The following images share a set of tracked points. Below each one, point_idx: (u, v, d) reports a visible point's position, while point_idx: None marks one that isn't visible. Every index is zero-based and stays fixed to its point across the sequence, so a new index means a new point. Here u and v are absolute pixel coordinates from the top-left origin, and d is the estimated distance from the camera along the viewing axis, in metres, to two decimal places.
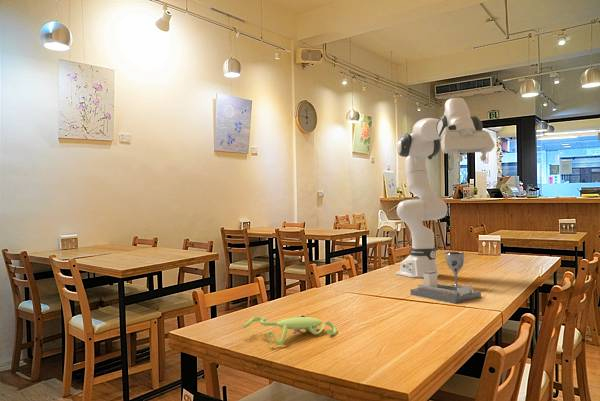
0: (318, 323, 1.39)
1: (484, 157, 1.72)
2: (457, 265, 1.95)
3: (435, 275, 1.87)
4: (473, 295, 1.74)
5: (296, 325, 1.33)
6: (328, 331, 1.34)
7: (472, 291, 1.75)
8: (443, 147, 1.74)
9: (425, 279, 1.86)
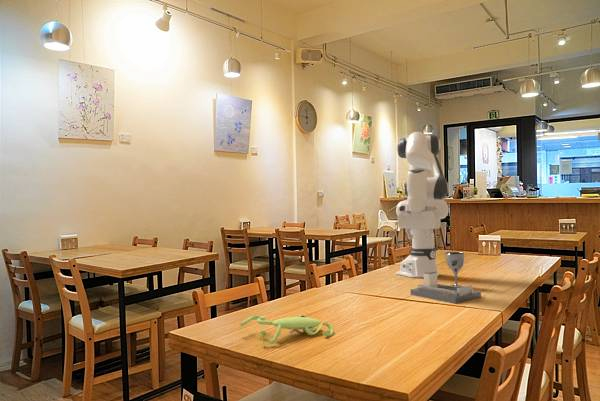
0: (315, 323, 1.39)
1: (426, 238, 1.87)
2: (457, 265, 1.95)
3: (435, 275, 1.87)
4: (473, 295, 1.74)
5: (291, 325, 1.33)
6: (323, 332, 1.33)
7: (472, 291, 1.75)
8: None
9: (425, 279, 1.86)
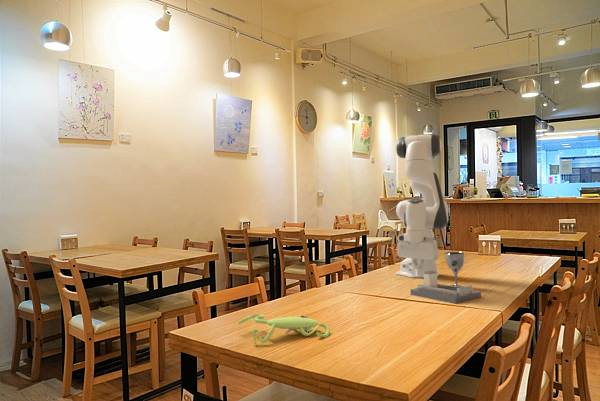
0: (312, 324, 1.38)
1: (417, 268, 1.91)
2: (457, 265, 1.95)
3: (435, 275, 1.87)
4: (473, 295, 1.74)
5: (285, 325, 1.34)
6: (317, 333, 1.33)
7: (472, 291, 1.75)
8: None
9: (425, 279, 1.86)
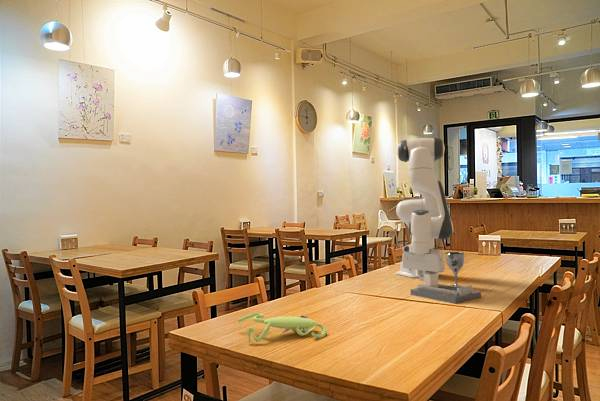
0: (309, 324, 1.38)
1: (423, 279, 1.89)
2: (457, 265, 1.95)
3: (436, 275, 1.86)
4: (473, 295, 1.74)
5: (280, 324, 1.35)
6: (312, 333, 1.32)
7: (472, 291, 1.75)
8: None
9: (426, 279, 1.86)
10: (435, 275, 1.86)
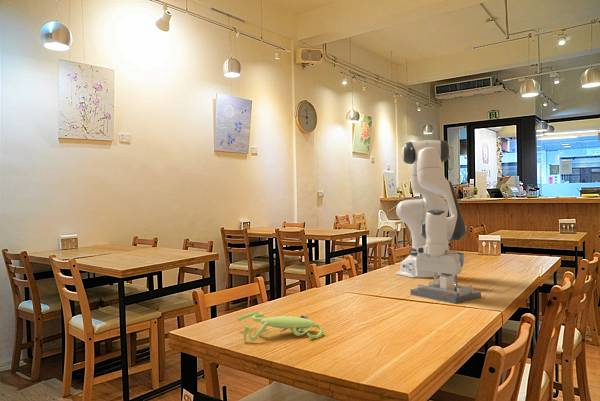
0: (306, 325, 1.38)
1: (438, 282, 1.82)
2: None
3: (452, 277, 1.80)
4: (473, 295, 1.74)
5: (277, 324, 1.35)
6: (308, 334, 1.32)
7: (472, 291, 1.75)
8: None
9: (441, 282, 1.79)
10: (451, 277, 1.79)
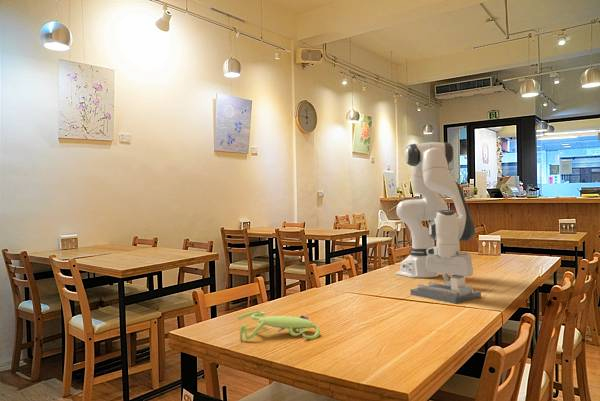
0: (303, 325, 1.38)
1: (449, 284, 1.78)
2: None
3: (463, 279, 1.75)
4: (473, 295, 1.74)
5: (273, 324, 1.36)
6: (303, 334, 1.32)
7: (472, 291, 1.75)
8: None
9: (452, 283, 1.75)
10: (462, 279, 1.75)
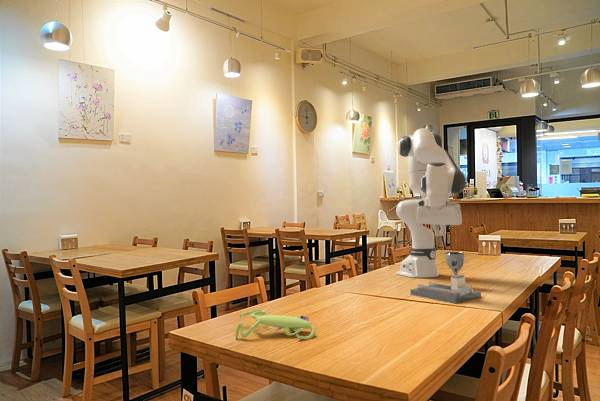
0: (300, 325, 1.38)
1: (439, 234, 1.81)
2: (457, 265, 1.95)
3: (463, 279, 1.75)
4: (473, 295, 1.74)
5: (269, 323, 1.37)
6: (297, 334, 1.32)
7: (472, 291, 1.75)
8: None
9: (452, 283, 1.75)
10: (462, 279, 1.75)
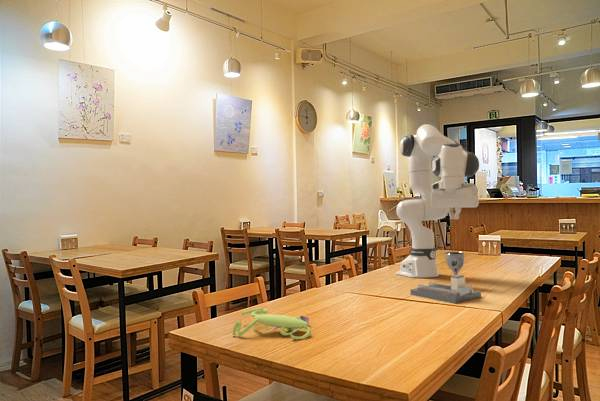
0: (296, 325, 1.38)
1: (454, 218, 1.75)
2: (457, 265, 1.95)
3: (463, 279, 1.75)
4: (473, 295, 1.74)
5: (266, 322, 1.38)
6: (290, 334, 1.32)
7: (472, 291, 1.75)
8: None
9: (452, 283, 1.75)
10: (462, 279, 1.75)
